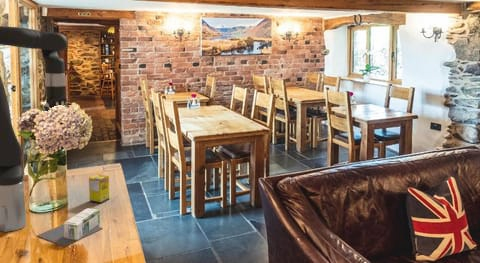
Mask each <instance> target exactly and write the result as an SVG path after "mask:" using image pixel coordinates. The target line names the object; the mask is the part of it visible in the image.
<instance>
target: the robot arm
mask: <svg viewBox="0 0 480 263" xmlns="http://www.w3.org/2000/svg"><path fill="white" fill-rule="evenodd" d="M68 43H69V42H68V39H67V37H66V36H65V35H64V34H62V33H60V32H53V31H41V30H36V29H32V28H26V27H18V26H2V25H1V26H0V45H3V46H9V47H10V46H11V47H15V48H25V49H32V50H34V49H35V50H40V51H41V54H42V58H43V60H44V71H45V75H44V81H45V82H44V83H45V97H46V101H45V102H46V103H45V104H44V105H41V107H40V108H41V110H42V111H43V112H44V111H48V110H51V109H50V108H52V107H54V106H58V105H63V106H64V105H66V106H68V105H71V106H73V105H72V103H71V102H68V100H67V98H66V97H67V79H66V71H65V70H66V68H65V60H64V59H63V58H61V57H60V56H59V54H58V52H60V53H61V52H64V51H65V50H66V49H67V47H68ZM9 105H10V104H9V100H8V96H7V93H6V89H5V86H4V83H3V80H2V77H1V75H0V231H1V232H3V233H7V232H14V231H18V230H21V229H23V228H25V227H26V226H27V213H26V198H25V197H26V194H25V180H24V178H25V177H24V170H23V169H24V168H23V153H24V152H23V148H22V146H21V143H20V142H19V140H18V138H17V136H16V133H15V130H14V128H13V124H12V119H11V118H12V117H11V111H10V106H9Z"/></svg>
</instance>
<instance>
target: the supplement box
mask: <svg viewBox="0 0 480 263" xmlns="http://www.w3.org/2000/svg"><path fill="white" fill-rule="evenodd" d="M109 178H110V176H109V175H106V174H105V175H104V174H99V173H97V174H94V175H92V176H90V177H89V178H88V188H89V202H90V203H96V204H104V203H106V202H107V201H109V200H110V179H109Z"/></svg>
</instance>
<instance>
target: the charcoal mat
mask: <svg viewBox="0 0 480 263" xmlns="http://www.w3.org/2000/svg"><path fill="white" fill-rule="evenodd" d="M101 230H103V227H100V226H99V225H98V226H96V227H95V228H93V229H92V230H90V231H89V232H88V233H86V234H85V235H84V236H82V237H81V238H80V239H78V240H74V239H69V238H64V224H61V225H59V226H57V227H54V228H52V229H49V230H47V231H44V232H42V233H40V234H37V235H36V236H37V237H38V238H41V239H44V240H46V241H48V242H51V243H53V244H56V245H58V246H61V247H64V248H65V247H67V246H69V245H71V244H73V243H76V242H77V241H80V240H82V239H83V238H86V237H88V236H90V235H92V234H94V233H97V232H99V231H101Z"/></svg>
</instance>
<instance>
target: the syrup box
mask: <svg viewBox="0 0 480 263" xmlns="http://www.w3.org/2000/svg"><path fill="white" fill-rule="evenodd" d="M63 224H64V238H69V239H74V240H78V239H80V238H81V237H82V236H84V235H85V234H86V233H88V232H89V231H90V230H92V229H93V228H95V227H96V226H98V227H99V225H101V210H100V209H94V208H88V207H87V208H85V209H83V210H81V212H79V213H77V214H76V215H74V216H73V217H71V218H69V219H68V220H66V221H65V222H63ZM63 224H62V225H63ZM80 240H81V239H80ZM78 241H79V240H78Z"/></svg>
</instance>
